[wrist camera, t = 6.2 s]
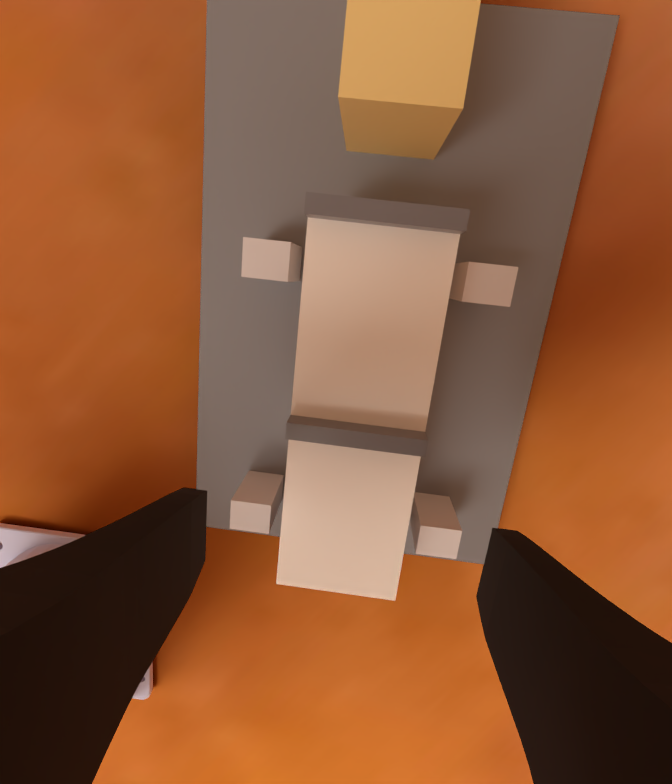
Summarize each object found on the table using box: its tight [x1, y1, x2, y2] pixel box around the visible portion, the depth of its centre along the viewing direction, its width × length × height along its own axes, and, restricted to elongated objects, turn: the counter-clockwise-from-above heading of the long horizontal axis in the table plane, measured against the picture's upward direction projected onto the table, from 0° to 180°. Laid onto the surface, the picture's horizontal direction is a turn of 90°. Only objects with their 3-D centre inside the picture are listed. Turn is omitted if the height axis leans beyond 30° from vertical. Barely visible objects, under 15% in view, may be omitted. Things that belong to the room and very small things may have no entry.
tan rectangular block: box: [338, 0, 481, 160], centre depth 12 cm, size 4×3×5 cm
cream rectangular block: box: [276, 192, 470, 601], centre depth 14 cm, size 12×4×5 cm, turn 174°
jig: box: [196, 0, 619, 564], centre depth 16 cm, size 20×13×4 cm, turn 174°
